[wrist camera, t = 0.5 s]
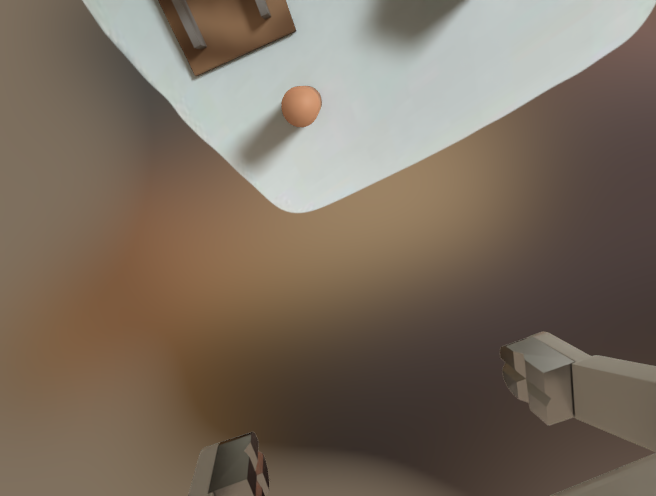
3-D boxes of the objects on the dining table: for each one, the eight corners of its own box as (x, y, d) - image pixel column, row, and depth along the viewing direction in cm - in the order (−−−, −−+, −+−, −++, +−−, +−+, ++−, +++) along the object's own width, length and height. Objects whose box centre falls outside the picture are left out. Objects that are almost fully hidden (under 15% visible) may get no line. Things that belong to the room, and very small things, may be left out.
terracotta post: (287, 92, 48) (275, 95, 37) (315, 81, 47) (310, 80, 37) (299, 122, 50) (290, 132, 39) (325, 111, 49) (324, 119, 39)
